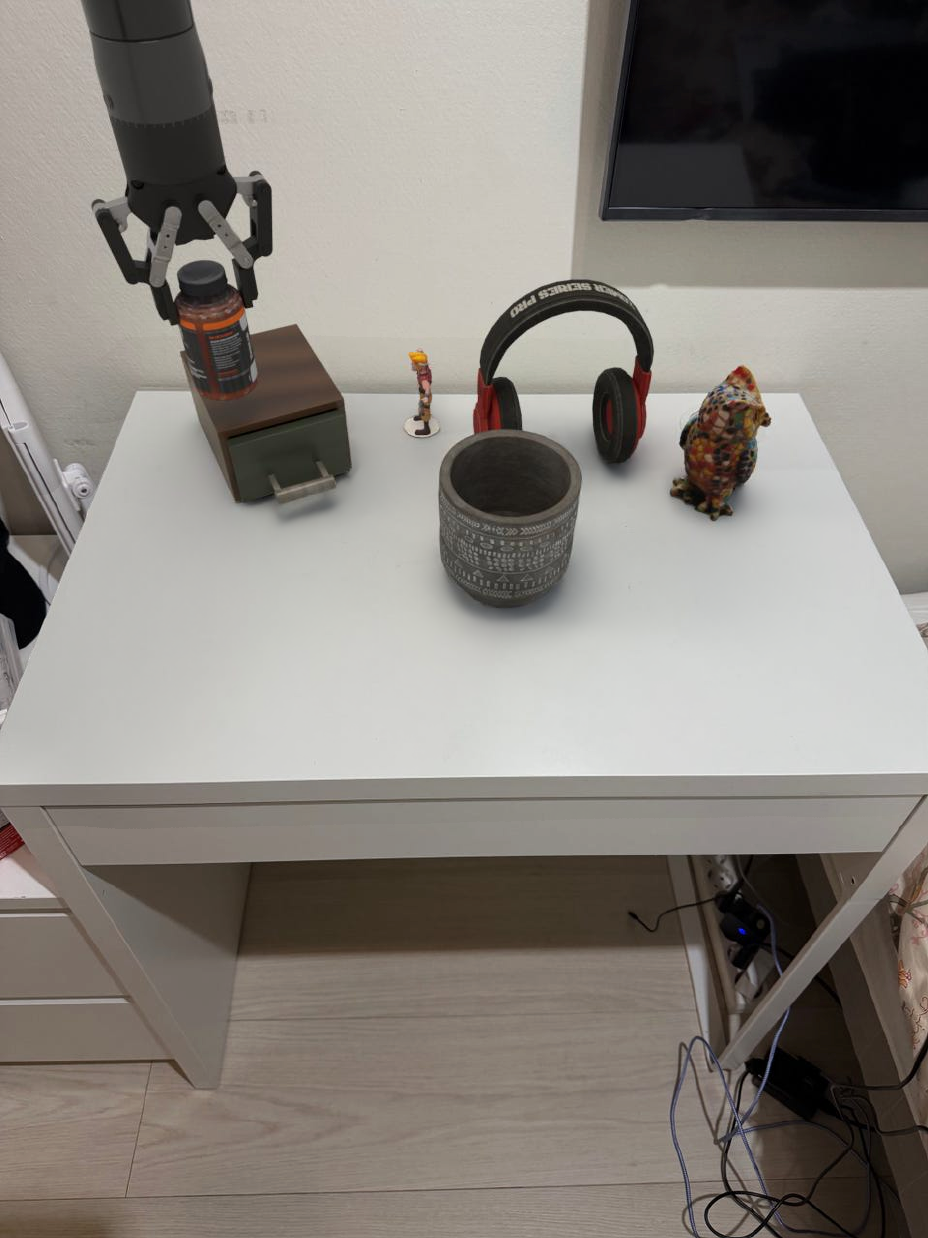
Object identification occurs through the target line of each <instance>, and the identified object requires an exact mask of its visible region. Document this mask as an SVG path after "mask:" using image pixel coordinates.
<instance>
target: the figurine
mask: <svg viewBox="0 0 928 1238" xmlns="http://www.w3.org/2000/svg"><path fill="white" fill-rule="evenodd" d="M771 420H772V418H771V416H770V414H769V413H768V412H767V409H766V406H765V405H764V403H763V400H762V395H761V392H760V389H759V387H758V385H757V381H756V379H755V375H753V372H752V371H751V370H750V369H749V368H748V367H747V366H745V365H744V364H741V365H738V366H737V367H736V368H735V369H734V370H732V371H731V372H730V373H728V375H727V376H726V378H725V379H724V380H723V381H722V382H721V383H720V384H718V385H715V387H714V388H713V389H712V390H711V391H708V392H707V395H706V396H705V398H703V400H702V403H701V405H700V407H699V408H698V414H696V415H695V416H692V418H691V419H689V420H688V421H686V423H685V425H684V427H683V428H682V430H681V432H680V436H679V441H678V445H679V447H680V448H681V450H683V459H684V460H683V464H684V471H685V474H686V475H685V476H684V478H682V477H680V476H677V477H674V478H673V479H672V483H673V485H674V487H671V488H670V490H669V495H670V496H671V497H676V498H679V499H681V500H682V501H683V502H684V503H685V504H686V505H691V506H693V507H694V510H695V511H696V512H701V513H704V514H708V515H709V518H710V519H711V521H714V522H716V521H717V519H718V518H719V517H721V516H731V517H732V516H733V515H734V511H735V510H734V509H733V508H732V505H730V504H729V503H728V501H729V500H730V497H731V495H732V492H735V491H736V489H737V486H739V485H744V484H745V483H747V482H748V481H749V479H750V478H751V476H752V474H753V473H754V471H755V468H756V465H757V460H758V451H759V449H758V441H757V438H756V436H755V435H756V433H757V431H758V430H759V428H760V427H764V428H768V427H770V426H771V424H772V421H771Z"/></svg>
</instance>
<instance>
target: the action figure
mask: <svg viewBox="0 0 928 1238" xmlns="http://www.w3.org/2000/svg"><path fill="white" fill-rule="evenodd" d="M408 357H409V358H410V360H411V363H410V365H411V371H413V372H416V380H417V384H418V386H419V387H418V394H419V401H418V408H417V411H418V414H417V415H414V416H412V417H410V418H408V419H406V421H405V422H404V424H403V425H404V427H403V428H404V430H405V432H406V433H407V434H408V435H410V436H412V437H416V438H428V437H432V436H434V435H435V434H436V433H437V432H438V431H439V430H440V422H439V421H438V420H437V419H436V418H434V417H432V413H431V403H432V402H433V393H432V391H431V386H432V384H433V375H432V374H433V373H432V368H434V366H435V365H437V363H436V362H429V360H428V355H427V354H426V353H425V352H424V350H423V348H422V347H417V349H416V350H415V352H413V351H412V352H408ZM430 368H431V369H430Z"/></svg>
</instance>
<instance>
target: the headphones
mask: <svg viewBox="0 0 928 1238" xmlns="http://www.w3.org/2000/svg"><path fill="white" fill-rule="evenodd" d="M575 312H594V313H600V314H605V315H608V316H610V317H614V318H616V319H617V320H619V321H620V322H622V323H623V324H624V325H625V326H626V328H627V329H628V331H629V333H630V334H631V336H632V339H633V343H634V346H635V351H636V355H635V357H634V367H633V372H632V376H631V375H630V374H629V373H628V372H627V371H626V370H625V369H624V368H622V367H617V366H613V367H609V368H606V369H603V371H601V373H600V374H599V375H598V376H597V378H596V381H595V383H594V384H595V386H594V388H593V394H592V403H591V415H592V430H593V434H594V438H595V439H594V440H595V444H596V447H597V450H598V452H599V454H600V456H601V458H602V459H603V460H604V461H606V462H607V463H608V464H614V465H620V464H623V463H625V462H627V461H628V460H630V458H631V457H632V455H633V454H634V453H635V452H636V450H637V449H638V445H639V442H640V440H641V438H643V435H644V433H645V431H646V426H647V425H646V424H647V417H648V415H647V405H646V402H647V398H648V396H649V391H650V386H651V382H652V375H653V371H652V369H651V368H652V366H653V364H654V363H653V362H654V356H655V349H654V348H655V347H654V340H653V337H652V334H651V332H650V329H649V327H648V325H647V323H646V321H645V319H644V317H643V316H642V313H640V311H639V309H638V306H637V305H635V303H634V302H633V301H632V300H631V299H630V298H629V297H628V295H626V294H625V293H623V292H622V291H621V290H619V289H617V288H616V287H614V286H612V285H610V284H608V283H605V282H603V281H599V280H593V279H588V278H587V279H581V278H580V279H579V278H578V279H577V278H576V279H575V278H573V279H572V278H571V279H565V280H559V281H558V280H557V281H554V282H550V283H548V284H544V285H541V286H539V287H536V288H535V289H534V290H531V291H530V292H527V293H526V294H524V295H523V296H521V297H519V299H517V300H516V301H514V302H513V303H512V304H511V305H510V306H509V307H508V308H507V309H506V310H505V311H504V312H503V313H501V315H499V317H498V319H496V321H495V322H494V324H493V325H492V326H491V328H490V330H489V331H488V333H487V335H486V337H485V338H484V341H483V344H482V346H481V349H480V355H479V367H478V370H477V381H476V382H477V385H476V393H477V401H476V402H475V405H474V409H473V414H472V427H473V434H476V433H480V432H483V431H489V430H499V429H512V430H522V431H524V430H523V428H524V427H523V414H522V409H521V404H520V399H519V395H518V393H517V389H516V386H515V384H514V382H513V381H512V380H511V379H510V378H508V377H507V376H496V377H494V376H495V374H496V373H497V370H498V367H499V365H500V363H501V362H502V361H501V360H502V359H503V358H504V356H505V354H506V352H507V351H508V349H510V347H511V346H512V345H513V344H514V343H515V342H516V341H517V340H518V339H519V338H520V337H522V335H524V334H525V333H527V331H529V330H531V329H533V328H534V327H536V326H537V325H539V324H541V323H543V322H545V321H547V320H549V319H551V318H555V317H557V316H561V315H564V314H568V313H569V314H570V313H575Z"/></svg>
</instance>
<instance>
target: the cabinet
mask: <svg viewBox="0 0 928 1238" xmlns="http://www.w3.org/2000/svg"><path fill="white" fill-rule="evenodd" d="M250 337H251V342H252V346H253V351H254V356H255V361H256V365H257V370H258V383H257V385H256V387H255V388H254V390H253V391H251V392H250V393H249V394H247V395H246V396H244V397H241V398H238V399H235V400H231V401H216V400H211V399H208V398H206V397H203V396H202V395H201V394H200V393H199V392H198V391H197V389H196V387H195V384H194V381H193V378H192V374H191V370H190V367H189V363H188V359H187V356H186V352H185V349H184V350H180V351H179V355H180V358H181V361H182V365H183V369H184V372H185V376H186V379H187V383H188V387H189V390H190V393H191V397H192V400H193V404H194V408H195V411H196V415H197V418H198V422H199V425H200V426H201V429H202V431H203V433H204V435H205V438H206V439H207V442H208V444H209V446H210V448H211V451H212V453H213V455H214V458H215V460H216V462H217V464H218V466H219V469H220V471H221V473H222V475H223V478H224V480H225V482H226V484H227V487H228V489H229V492H230V494H231V496H232V498H233V500H234V502H235V503H239V502H241V501H242V498H241V496H240V493H239V489H238V485H237V481H236V477H235V474H234V470H233V466H232V462H231V458H230V454H229V450H228V446H227V442H226V440H228V437H231V436H235V435H239V434H242V433H246V432H250V431H253V430H257V429H261V428H265V427H268V426H272V425H276V424H279V423H283V422H287V421H290V420H294V419H298V418H302V417H305V416H309V415H313V414H316V413H320V412H324V411H327V410H328V411H329V412H332V411H335V410H339V409H340V410H341V412H342V413H343V415H344V420H345V428H346V437H347V445H348V454H349V462H350V470H352V469H353V465H352V464H353V463H352V456H351V449H350V448H351V447H350V440H349V439H350V437H349V430H348V422H347V413H346V404H345V398H344V396H343V395H342V392H340V390H339V388H338V387H337V385H336V383H335V382H334V381H333V379H332V377H331V376H330V374H329V372H328V371H327V369H326V368H325V366H324V365H323V363H322V362H321V360H320V359H319V357H318V355H317V354H316V352H315V351H314V348H313V347H312V346H311V344H310V343H309V340H308V339H307V338H306V336H305V335H304V332H302V330H301V329H300V327H299V325H298V324H297V323H294V324H289V325H286V326H280V327H277V328H271V329H269V330H268V329H267V330H265V331H261V332H256V333H250ZM242 502H243V501H242Z"/></svg>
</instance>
